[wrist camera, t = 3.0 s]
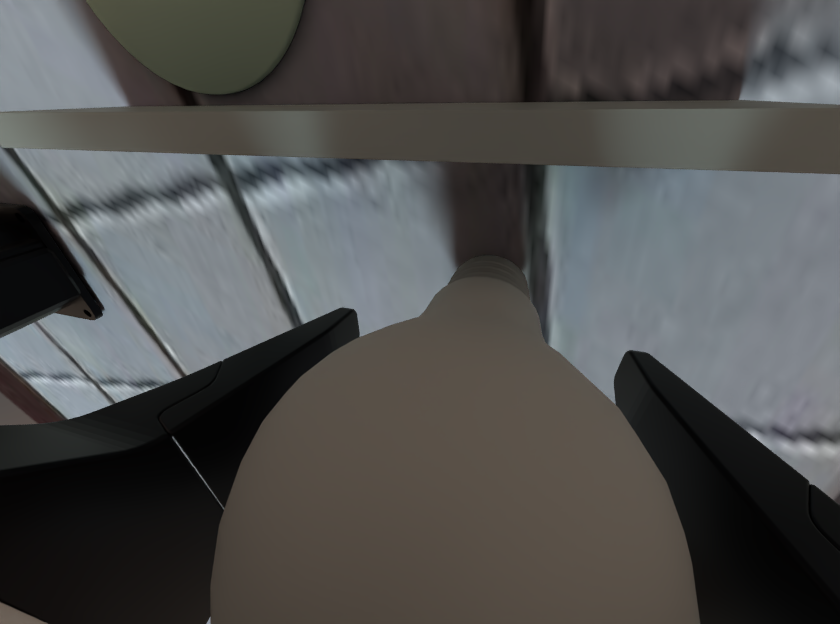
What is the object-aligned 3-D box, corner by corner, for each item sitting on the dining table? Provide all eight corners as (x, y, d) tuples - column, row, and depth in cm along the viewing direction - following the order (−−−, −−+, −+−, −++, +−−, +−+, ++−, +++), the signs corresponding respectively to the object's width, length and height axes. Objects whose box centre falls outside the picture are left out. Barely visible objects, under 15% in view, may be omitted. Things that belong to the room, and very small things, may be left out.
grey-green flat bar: (143, 132, 12) (1, 147, 9) (131, 106, 11) (-21, 112, 8) (721, 139, 8) (854, 174, 5) (740, 99, 7) (901, 108, 4)
